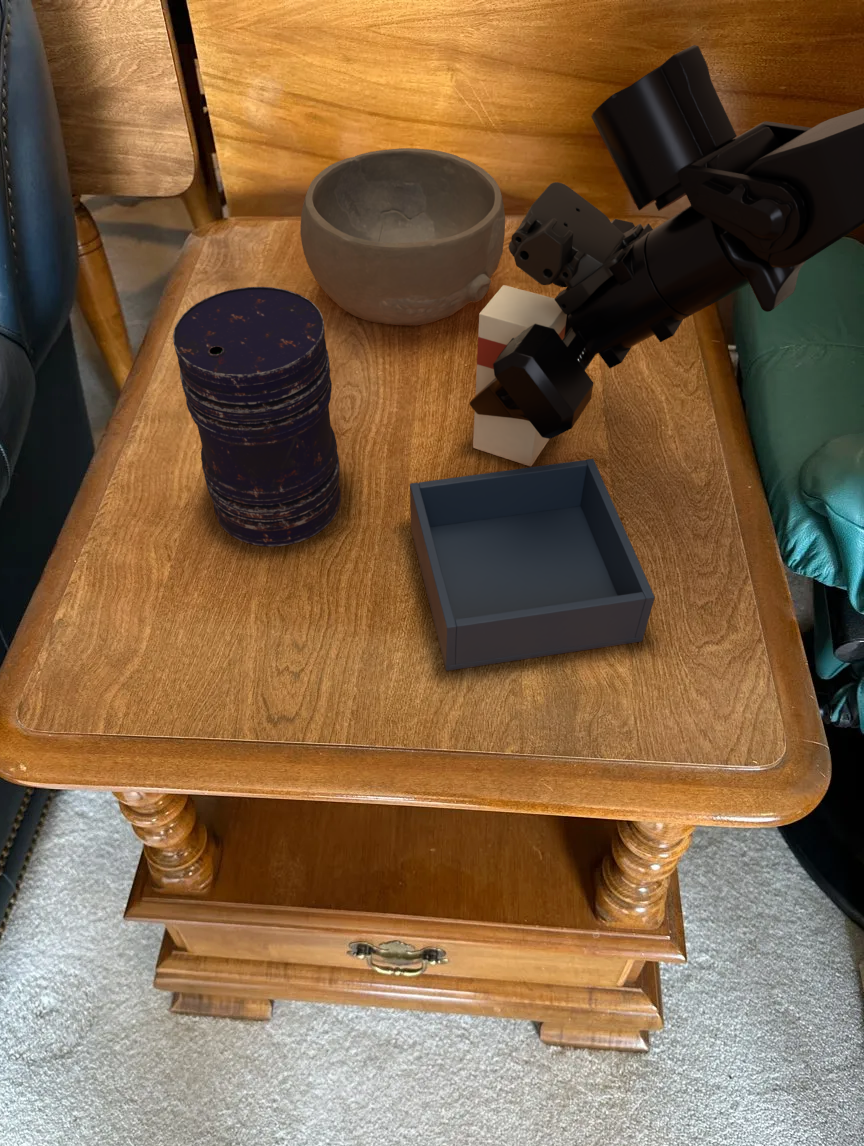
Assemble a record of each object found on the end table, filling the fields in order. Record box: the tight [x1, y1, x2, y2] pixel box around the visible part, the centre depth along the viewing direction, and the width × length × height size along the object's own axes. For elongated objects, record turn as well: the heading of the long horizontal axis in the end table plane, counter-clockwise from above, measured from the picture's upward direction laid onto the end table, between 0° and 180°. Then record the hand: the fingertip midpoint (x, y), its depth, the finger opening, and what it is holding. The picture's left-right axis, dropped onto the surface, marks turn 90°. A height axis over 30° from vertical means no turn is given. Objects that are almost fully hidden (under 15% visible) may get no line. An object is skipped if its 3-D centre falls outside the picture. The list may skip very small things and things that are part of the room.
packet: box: [472, 284, 567, 467], centre depth 71 cm, size 5×4×12 cm
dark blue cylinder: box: [172, 286, 342, 547], centre depth 67 cm, size 10×10×15 cm
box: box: [409, 458, 656, 672], centre depth 65 cm, size 13×13×4 cm
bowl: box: [299, 147, 506, 326], centre depth 85 cm, size 17×18×10 cm
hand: (500, 372), depth 71 cm, fingers open, 9 cm apart
